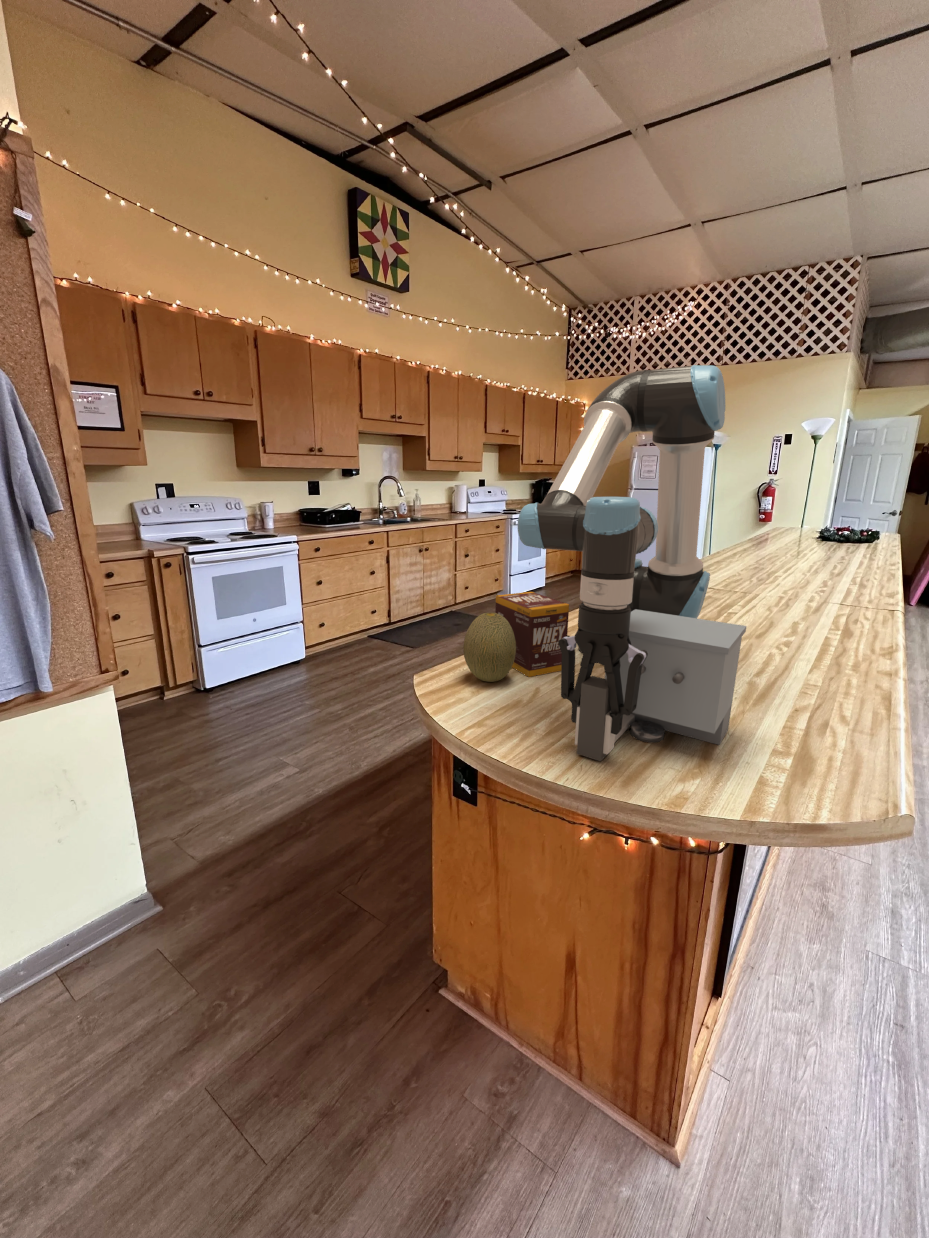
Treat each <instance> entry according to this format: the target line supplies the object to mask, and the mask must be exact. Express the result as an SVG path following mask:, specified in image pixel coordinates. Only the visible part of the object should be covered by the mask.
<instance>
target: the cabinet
mask: <svg viewBox="0 0 929 1238" xmlns="http://www.w3.org/2000/svg"><path fill="white" fill-rule="evenodd" d="M746 631H747V625H742V624H738V623H730V622H722V621H718V620H717V621H716V620H710V619H709V620H708V619H704V618H703V619H701V618H690V617H684V616H677V615H670V614H664V613H657V612H650V611H644V610H637V609H635V610H633V611H632V612H631V616H630V627H629V639H630V641H631V645H632V646H633V647H635V648H636V649H638V650H640V651H641V650H645V651H647V653H648V656H647V658H646V659H645V661H644V663H643V665H642V670H641V677H640V685H639V692H638V699H637V706H636V709H635V710H634V711H633V712H632V713H631V714H633V715H635V721H651V722H654V723H657V724H659V725H661V726H662V727H663V728H664V729H665V732H670V733H673V734H677V735H681V736H684V737H689V738H692V739H696V740H700V741H703V742H707V743H711V744H714V745H717V746H720V745H721V744H722V741H723V740H724V738H725V736H726V734H727V733H728V731H729V727H730V722H731V721H730V720H731V713H732V705H733V701H734V691H735V686H736V681H737V680H736V679H737V673H738V672H737V671H738V666H739V665H738V664H739V659H740V654H741V652H740V651H741V645H742V640H743V639H742V638H743V636H744V635H745V633H746ZM628 657H629V656H628V654H627V653H625V654H624V655H623V656H622V657H621V658H620V665H621V666H620V675H621V683H622V692H623V700H625V692H626V684H627V676H628V669H629V666H630V664H631V663H630V662H629V661H628ZM604 679H607V675H606V673H605V672H604ZM635 721H634V722H635Z"/></svg>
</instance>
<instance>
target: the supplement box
mask: <svg viewBox="0 0 929 1238" xmlns="http://www.w3.org/2000/svg"><path fill="white" fill-rule="evenodd" d="M569 612H570V603H566V602H562V601H560V600H557V599H555V598H551V597H549V596H545V595H543V594H540V593H536V592H534V591H526V592H516V593H507V594H498V595H495V611H494V613H497V614H500V615H502V616H503V617H504V618H505V619H506V620H507V621H508V622H509V624H510V626H511V628H512V630H513V633H514V636H515V641H516V654H515V659H514V663H513V665H512V667H513V668H512V669H514V668H515V669H517V670H518V672H519V671H520V672H522V673H523V675H524V674H525V675H524V676H526V677H527V676H528V677H527V678H530V677H531V678H532V677H536V675H537V676H541V675H546V674H552V673H557V672H561V665H562V653H561V650H560V647H559V643H558V642H559V640H560V639H562V638H564V637H566V636H568V631H569ZM515 669H514V670H515ZM517 670H516V671H517ZM520 672H519V673H520ZM522 673H521V674H522Z"/></svg>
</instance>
